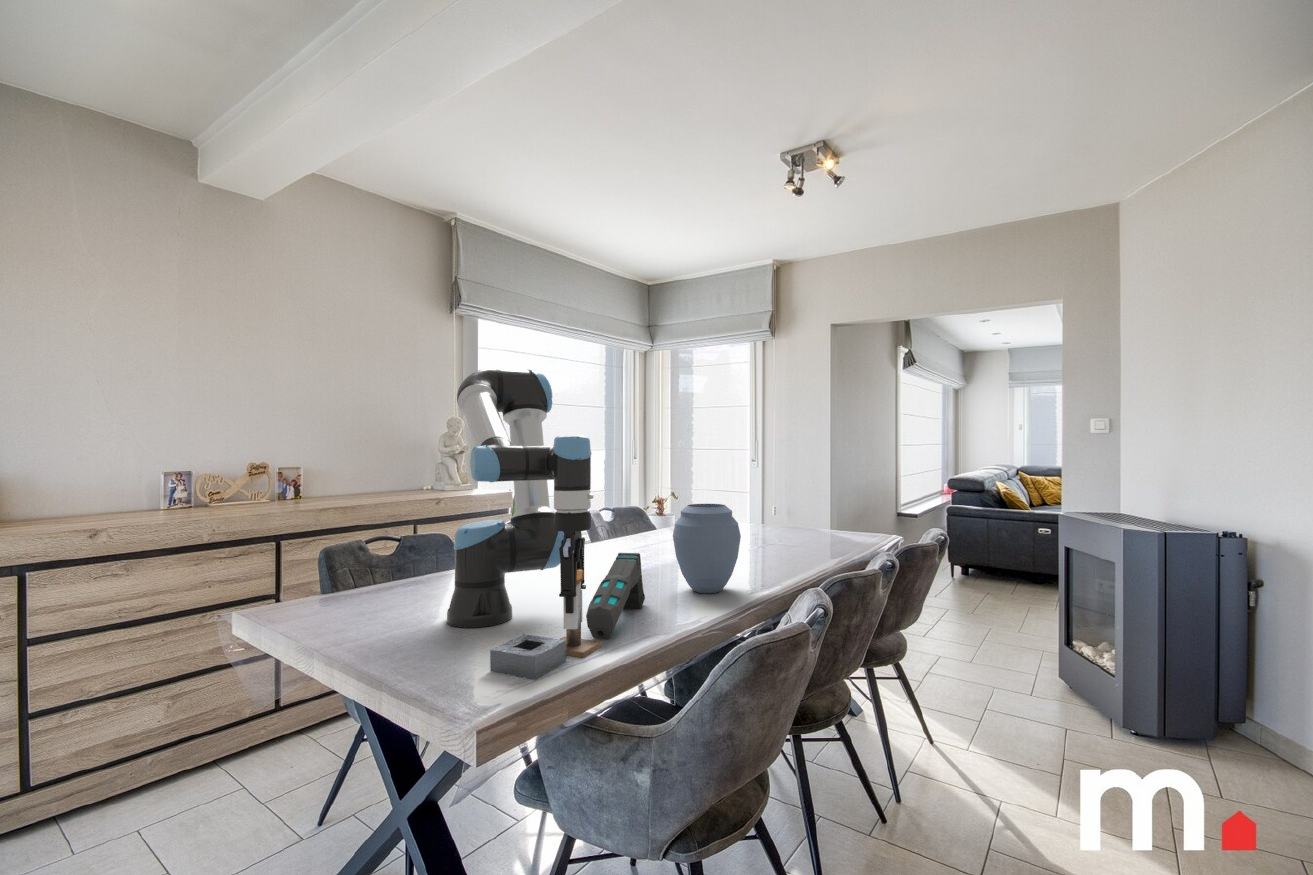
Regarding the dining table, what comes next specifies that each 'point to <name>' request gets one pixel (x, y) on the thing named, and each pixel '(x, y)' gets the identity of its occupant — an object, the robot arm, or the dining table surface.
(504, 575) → the robot arm
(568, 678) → the dining table surface
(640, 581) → the gun
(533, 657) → the block
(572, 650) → the rest pad
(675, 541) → the vase
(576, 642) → the capped test tube
